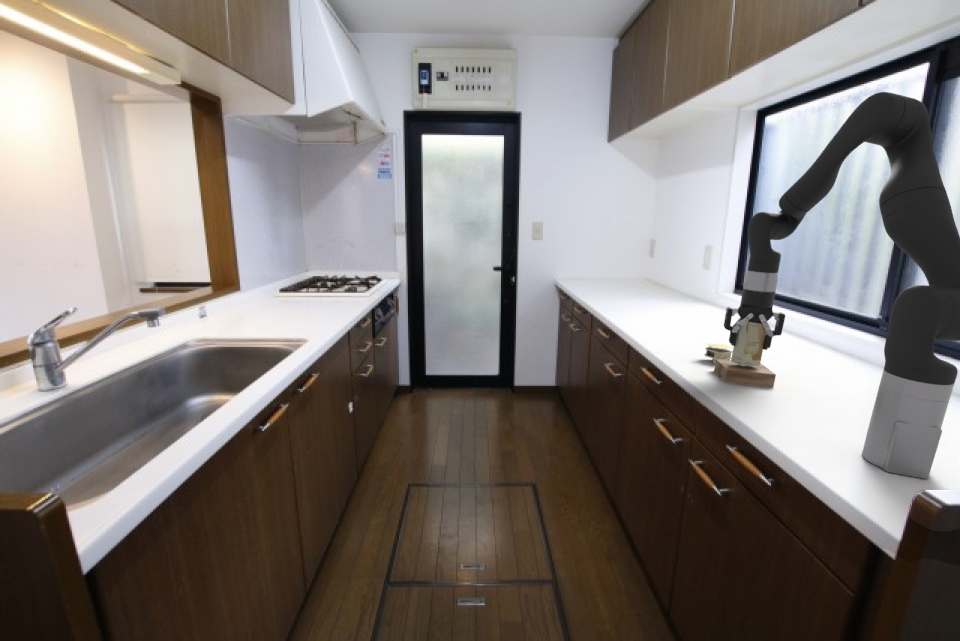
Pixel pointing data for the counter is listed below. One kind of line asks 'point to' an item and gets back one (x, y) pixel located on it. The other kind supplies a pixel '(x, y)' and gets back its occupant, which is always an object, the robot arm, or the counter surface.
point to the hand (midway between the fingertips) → (748, 347)
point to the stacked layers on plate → (718, 352)
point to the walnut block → (744, 374)
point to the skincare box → (749, 344)
